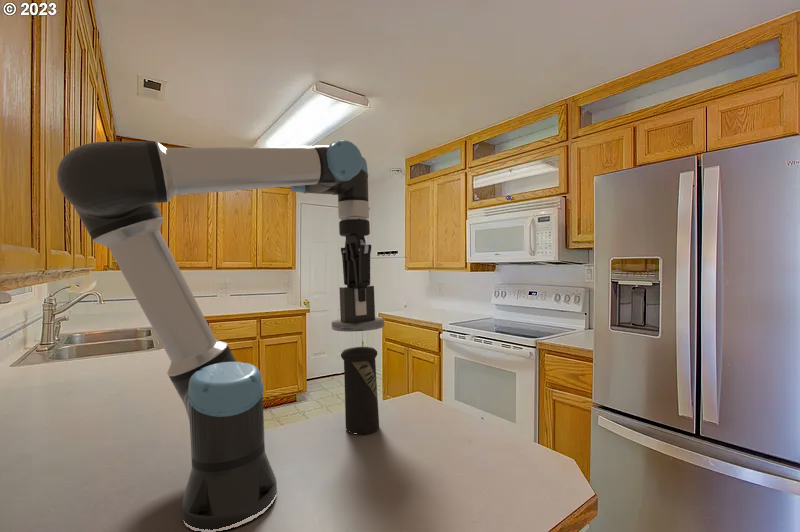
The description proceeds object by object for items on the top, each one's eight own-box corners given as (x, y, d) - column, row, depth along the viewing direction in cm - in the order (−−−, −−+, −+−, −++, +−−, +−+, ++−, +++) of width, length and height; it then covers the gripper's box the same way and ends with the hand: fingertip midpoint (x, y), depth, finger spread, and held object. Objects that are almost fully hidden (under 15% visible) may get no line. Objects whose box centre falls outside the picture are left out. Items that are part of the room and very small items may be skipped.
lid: (393, 327, 94) (392, 285, 94) (343, 333, 88) (342, 289, 88) (370, 321, 106) (368, 284, 105) (324, 326, 99) (322, 287, 99)
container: (371, 437, 91) (368, 352, 91) (337, 433, 94) (334, 351, 94) (385, 423, 99) (382, 345, 99) (354, 419, 102) (351, 343, 102)
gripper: (382, 216, 91) (386, 315, 92) (354, 223, 105) (358, 310, 105) (353, 215, 88) (357, 319, 88) (328, 223, 102) (331, 312, 102)
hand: (357, 314), depth 97 cm, fingers closed on lid, 3 cm apart
